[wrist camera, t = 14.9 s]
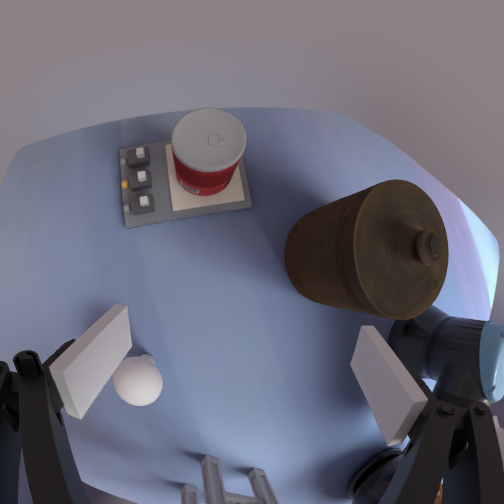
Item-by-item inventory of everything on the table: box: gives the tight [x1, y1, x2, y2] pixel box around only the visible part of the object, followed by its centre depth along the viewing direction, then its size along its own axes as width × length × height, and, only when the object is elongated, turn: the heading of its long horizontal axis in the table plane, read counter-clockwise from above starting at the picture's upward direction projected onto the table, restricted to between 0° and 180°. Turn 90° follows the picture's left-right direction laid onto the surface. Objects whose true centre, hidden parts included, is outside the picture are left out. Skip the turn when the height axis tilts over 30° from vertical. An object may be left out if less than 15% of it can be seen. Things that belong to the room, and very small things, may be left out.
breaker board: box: [120, 140, 252, 229], centre depth 36 cm, size 18×12×4 cm, turn 100°
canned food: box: [171, 108, 246, 196], centre depth 32 cm, size 8×8×11 cm
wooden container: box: [285, 180, 448, 320], centre depth 31 cm, size 15×15×22 cm
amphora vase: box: [347, 449, 443, 504], centre depth 29 cm, size 22×22×28 cm
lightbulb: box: [112, 354, 163, 406], centre depth 30 cm, size 6×6×11 cm
